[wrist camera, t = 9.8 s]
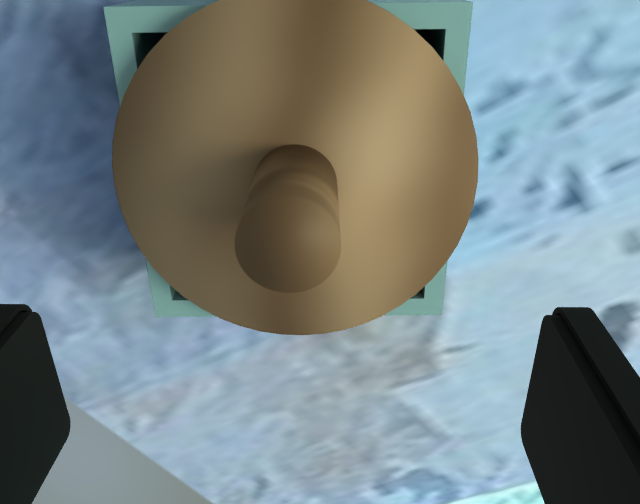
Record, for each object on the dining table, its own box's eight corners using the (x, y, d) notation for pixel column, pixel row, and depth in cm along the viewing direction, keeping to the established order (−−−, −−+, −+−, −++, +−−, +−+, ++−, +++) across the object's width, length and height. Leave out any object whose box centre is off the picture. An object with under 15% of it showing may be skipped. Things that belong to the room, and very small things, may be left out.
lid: (492, -20, 18) (559, -12, 13) (457, 321, 24) (493, 420, 19) (86, -11, 19) (-6, 0, 13) (148, 326, 24) (101, 424, 19)
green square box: (439, -8, 24) (473, 2, 19) (420, 250, 29) (441, 314, 24) (152, -4, 24) (103, 6, 19) (185, 252, 30) (155, 316, 24)
